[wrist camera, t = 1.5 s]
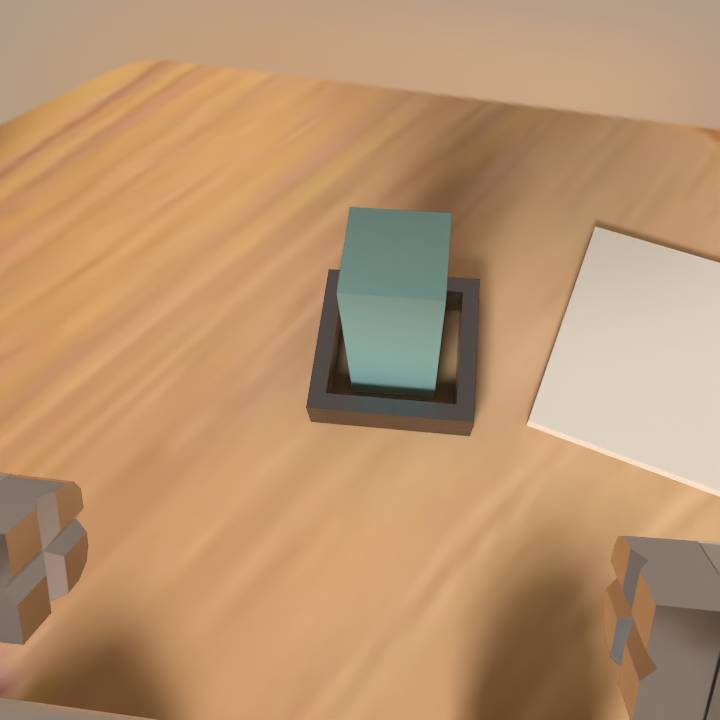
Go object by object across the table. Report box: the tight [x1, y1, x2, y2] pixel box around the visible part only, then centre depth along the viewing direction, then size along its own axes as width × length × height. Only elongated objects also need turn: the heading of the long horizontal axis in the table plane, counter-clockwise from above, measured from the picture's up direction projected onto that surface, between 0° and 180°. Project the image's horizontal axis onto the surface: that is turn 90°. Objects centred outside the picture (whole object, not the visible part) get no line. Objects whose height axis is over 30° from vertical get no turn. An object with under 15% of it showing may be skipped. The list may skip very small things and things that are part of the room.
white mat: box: [526, 226, 720, 497], centre depth 31 cm, size 12×12×1 cm
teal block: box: [337, 207, 452, 398], centre depth 28 cm, size 4×4×9 cm
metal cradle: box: [306, 269, 480, 436], centre depth 32 cm, size 8×8×2 cm
